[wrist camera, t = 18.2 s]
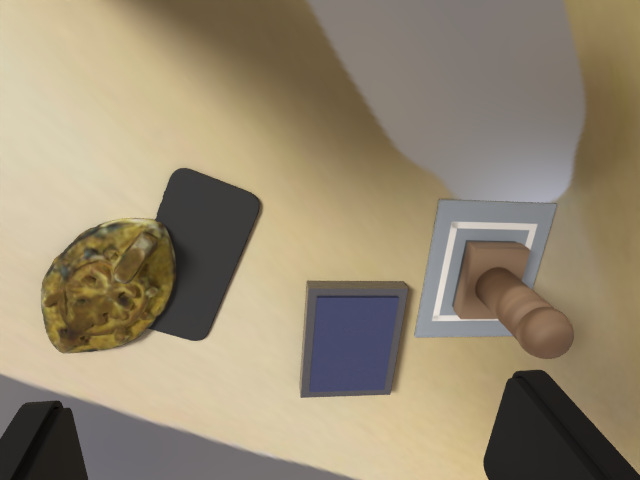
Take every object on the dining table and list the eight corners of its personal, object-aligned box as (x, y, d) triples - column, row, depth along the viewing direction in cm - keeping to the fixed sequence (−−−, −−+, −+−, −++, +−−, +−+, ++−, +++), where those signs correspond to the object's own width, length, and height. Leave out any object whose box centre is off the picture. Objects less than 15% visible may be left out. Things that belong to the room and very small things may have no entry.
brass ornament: (120, 361, 41) (208, 243, 37) (108, 399, 36) (206, 270, 33) (15, 320, 37) (102, 184, 33) (-11, 358, 32) (86, 207, 29)
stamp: (465, 239, 38) (540, 304, 28) (516, 240, 39) (608, 304, 29) (450, 306, 41) (514, 389, 31) (499, 306, 42) (577, 386, 31)
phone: (120, 321, 37) (173, 163, 33) (123, 315, 38) (175, 161, 33) (203, 344, 39) (264, 199, 35) (205, 339, 40) (264, 196, 35)
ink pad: (306, 280, 38) (308, 289, 37) (403, 281, 40) (408, 289, 38) (299, 387, 43) (300, 399, 41) (386, 384, 44) (390, 395, 43)
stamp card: (439, 199, 37) (440, 200, 37) (555, 203, 39) (557, 204, 38) (414, 335, 42) (415, 337, 42) (517, 334, 44) (519, 336, 43)
